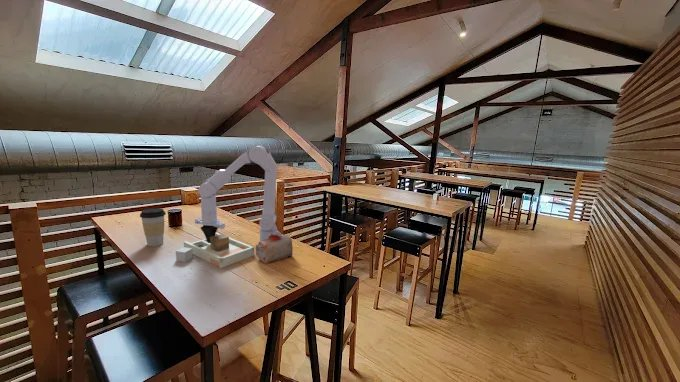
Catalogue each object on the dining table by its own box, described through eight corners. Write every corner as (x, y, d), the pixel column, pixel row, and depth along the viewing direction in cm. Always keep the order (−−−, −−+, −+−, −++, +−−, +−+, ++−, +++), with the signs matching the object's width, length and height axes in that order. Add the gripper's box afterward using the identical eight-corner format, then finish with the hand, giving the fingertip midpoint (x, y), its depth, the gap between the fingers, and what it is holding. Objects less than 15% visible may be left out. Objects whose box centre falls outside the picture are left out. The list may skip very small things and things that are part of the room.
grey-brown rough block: (264, 266, 112) (264, 241, 110) (254, 259, 117) (253, 235, 115) (294, 257, 121) (294, 234, 119) (283, 250, 127) (283, 229, 125)
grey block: (192, 258, 116) (192, 248, 115) (185, 262, 112) (184, 252, 111) (184, 256, 117) (183, 247, 116) (176, 260, 113) (175, 250, 112)
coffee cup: (147, 249, 121) (144, 214, 118) (138, 243, 127) (135, 210, 124) (172, 243, 129) (169, 210, 126) (162, 238, 134) (159, 206, 131)
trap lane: (254, 255, 121) (254, 247, 120) (221, 267, 109) (220, 259, 108) (216, 239, 135) (216, 232, 135) (184, 249, 123) (183, 241, 122)
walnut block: (229, 248, 122) (228, 236, 121) (218, 251, 118) (217, 240, 117) (221, 245, 124) (221, 233, 123) (210, 248, 120) (210, 237, 119)
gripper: (229, 211, 123) (230, 242, 125) (203, 206, 128) (205, 236, 131) (216, 215, 116) (218, 247, 119) (189, 210, 122) (191, 241, 125)
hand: (210, 242), depth 125 cm, fingers closed
